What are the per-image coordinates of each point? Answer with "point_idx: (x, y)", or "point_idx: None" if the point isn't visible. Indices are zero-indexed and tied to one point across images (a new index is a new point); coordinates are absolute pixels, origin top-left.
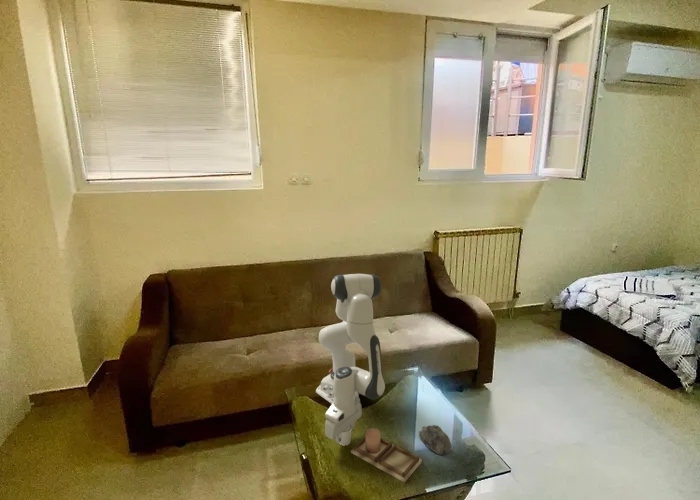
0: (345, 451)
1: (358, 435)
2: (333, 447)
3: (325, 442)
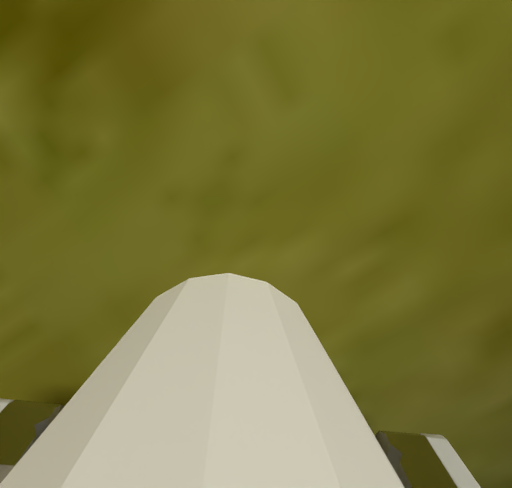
0: None
1: None
2: (31, 309)
3: (34, 140)
